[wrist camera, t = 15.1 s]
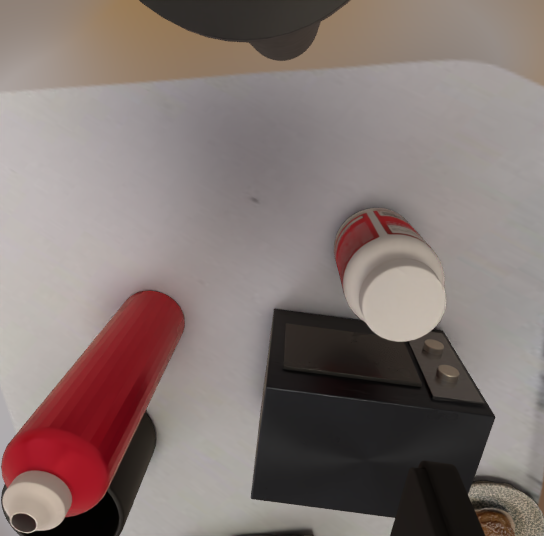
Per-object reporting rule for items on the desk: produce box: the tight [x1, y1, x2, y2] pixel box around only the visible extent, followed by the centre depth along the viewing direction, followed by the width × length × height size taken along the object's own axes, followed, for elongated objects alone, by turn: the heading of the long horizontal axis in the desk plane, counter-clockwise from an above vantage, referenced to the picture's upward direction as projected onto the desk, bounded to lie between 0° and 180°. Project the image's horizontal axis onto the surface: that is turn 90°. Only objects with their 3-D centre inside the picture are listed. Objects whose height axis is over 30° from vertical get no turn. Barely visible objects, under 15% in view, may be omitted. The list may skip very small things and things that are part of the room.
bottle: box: [1, 291, 185, 533], centre depth 30 cm, size 5×5×20 cm
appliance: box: [251, 309, 495, 518], centre depth 35 cm, size 10×14×11 cm
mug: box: [1, 413, 156, 536], centre depth 39 cm, size 9×12×9 cm
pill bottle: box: [334, 208, 446, 342], centre depth 31 cm, size 6×6×11 cm
